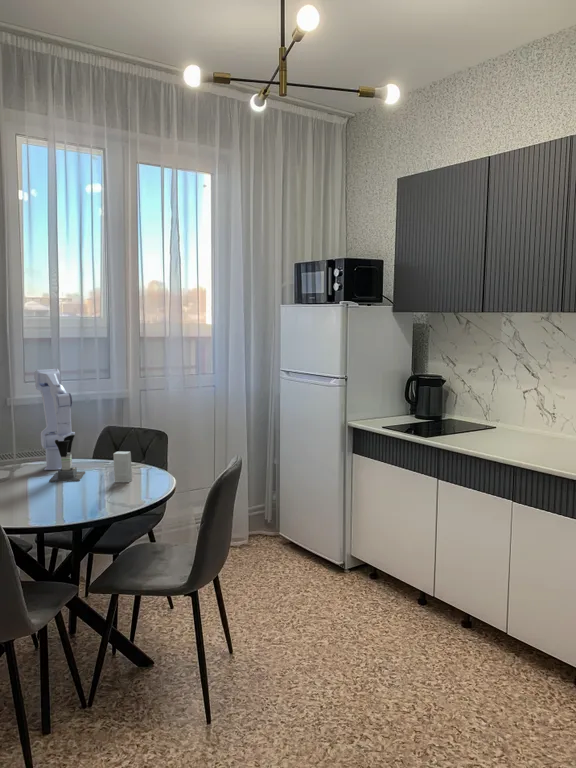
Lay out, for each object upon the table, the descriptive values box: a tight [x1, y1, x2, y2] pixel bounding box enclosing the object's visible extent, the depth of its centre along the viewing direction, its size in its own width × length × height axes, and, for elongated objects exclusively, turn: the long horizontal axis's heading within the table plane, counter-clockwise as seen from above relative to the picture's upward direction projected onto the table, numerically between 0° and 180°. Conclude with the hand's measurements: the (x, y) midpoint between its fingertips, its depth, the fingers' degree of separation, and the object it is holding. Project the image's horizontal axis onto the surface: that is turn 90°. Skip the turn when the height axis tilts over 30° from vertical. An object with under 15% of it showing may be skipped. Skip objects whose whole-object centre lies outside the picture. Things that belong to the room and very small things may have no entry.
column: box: [61, 453, 73, 471], centre depth 257 cm, size 4×4×7 cm
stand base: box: [48, 466, 86, 483], centre depth 257 cm, size 12×12×4 cm
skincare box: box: [112, 451, 133, 483], centre depth 251 cm, size 6×4×12 cm
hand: (65, 454), depth 256 cm, fingers open, 7 cm apart
